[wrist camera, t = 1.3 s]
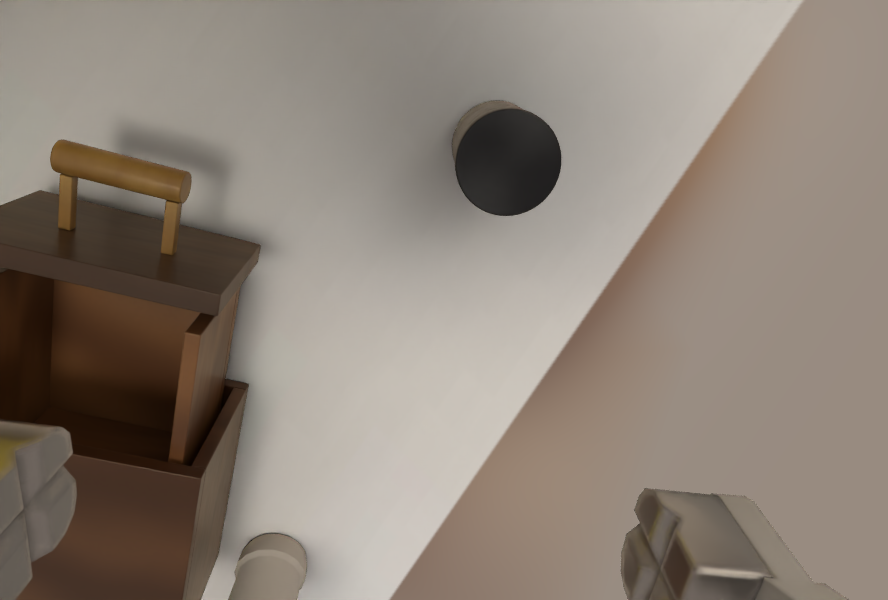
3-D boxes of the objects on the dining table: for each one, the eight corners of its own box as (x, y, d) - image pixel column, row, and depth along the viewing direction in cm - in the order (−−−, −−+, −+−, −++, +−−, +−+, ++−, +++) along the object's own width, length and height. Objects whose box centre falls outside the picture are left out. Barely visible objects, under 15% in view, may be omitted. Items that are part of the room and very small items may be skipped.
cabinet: (34, 337, 38) (-81, 424, 30) (249, 383, 40) (201, 478, 31) (30, 522, 44) (-68, 641, 35) (218, 555, 46) (170, 676, 37)
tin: (464, 87, 33) (473, 95, 28) (552, 113, 34) (577, 125, 29) (439, 177, 35) (442, 201, 30) (523, 200, 36) (541, 227, 31)
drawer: (41, 110, 32) (-67, 130, 25) (273, 172, 34) (234, 206, 27) (34, 402, 39) (-52, 483, 32) (227, 441, 41) (186, 525, 34)
